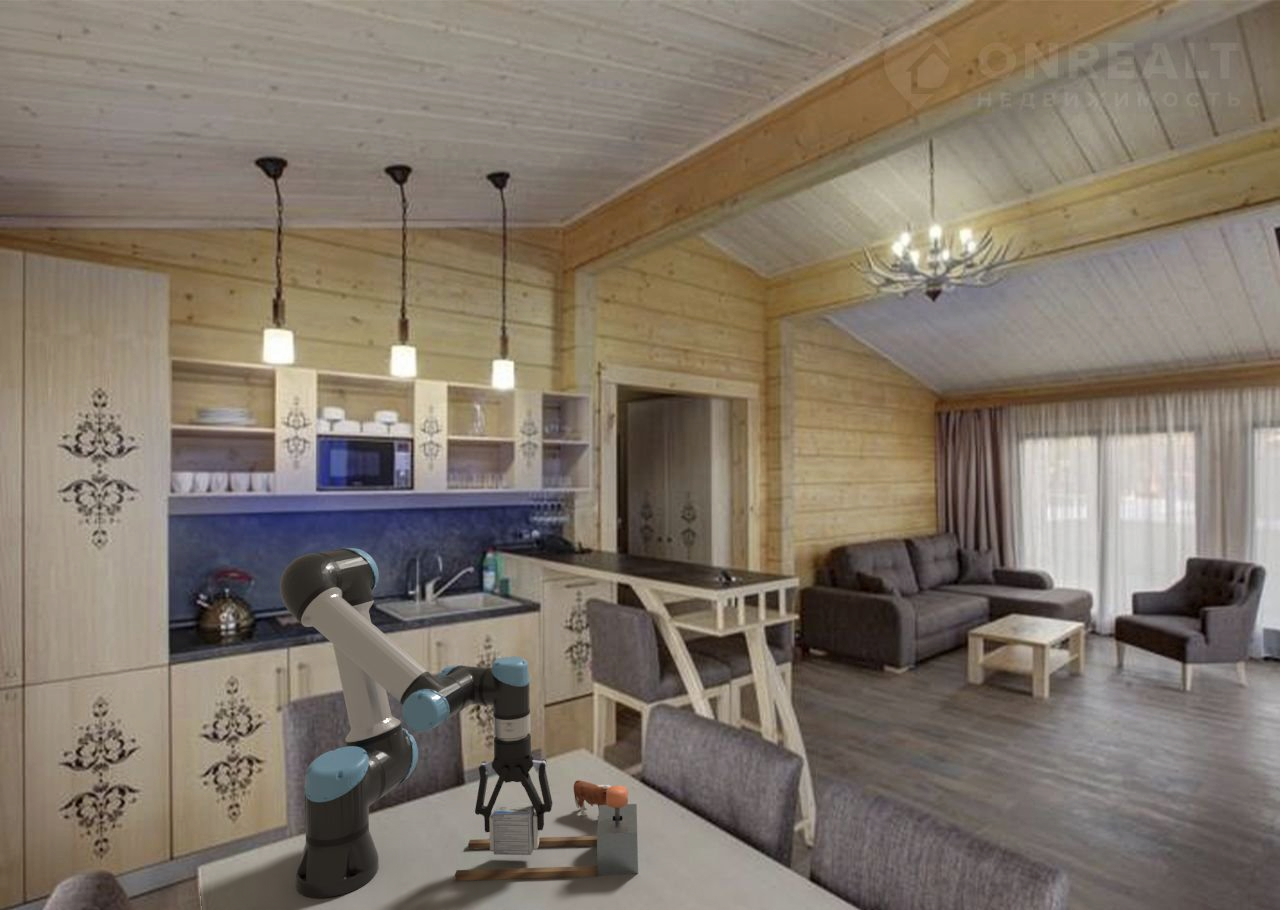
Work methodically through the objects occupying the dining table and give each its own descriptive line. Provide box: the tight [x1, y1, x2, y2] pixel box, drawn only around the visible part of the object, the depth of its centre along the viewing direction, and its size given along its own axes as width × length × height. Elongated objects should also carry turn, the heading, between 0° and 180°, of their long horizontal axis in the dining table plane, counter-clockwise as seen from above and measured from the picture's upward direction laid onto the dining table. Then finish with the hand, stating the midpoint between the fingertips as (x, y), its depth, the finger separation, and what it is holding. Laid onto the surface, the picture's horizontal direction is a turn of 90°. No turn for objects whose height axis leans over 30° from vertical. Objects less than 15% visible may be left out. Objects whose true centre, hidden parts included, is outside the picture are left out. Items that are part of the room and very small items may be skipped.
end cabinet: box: [596, 803, 639, 876], centre depth 144 cm, size 8×12×8 cm, turn 1°
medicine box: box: [492, 802, 535, 856], centre depth 144 cm, size 8×4×9 cm, turn 84°
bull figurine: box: [573, 779, 612, 818], centre depth 162 cm, size 4×13×8 cm, turn 53°
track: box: [454, 835, 599, 882], centre depth 144 cm, size 28×13×1 cm, turn 91°
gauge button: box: [606, 785, 629, 821], centre depth 145 cm, size 4×4×6 cm
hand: (514, 846), depth 144 cm, fingers closed on medicine box, 8 cm apart
